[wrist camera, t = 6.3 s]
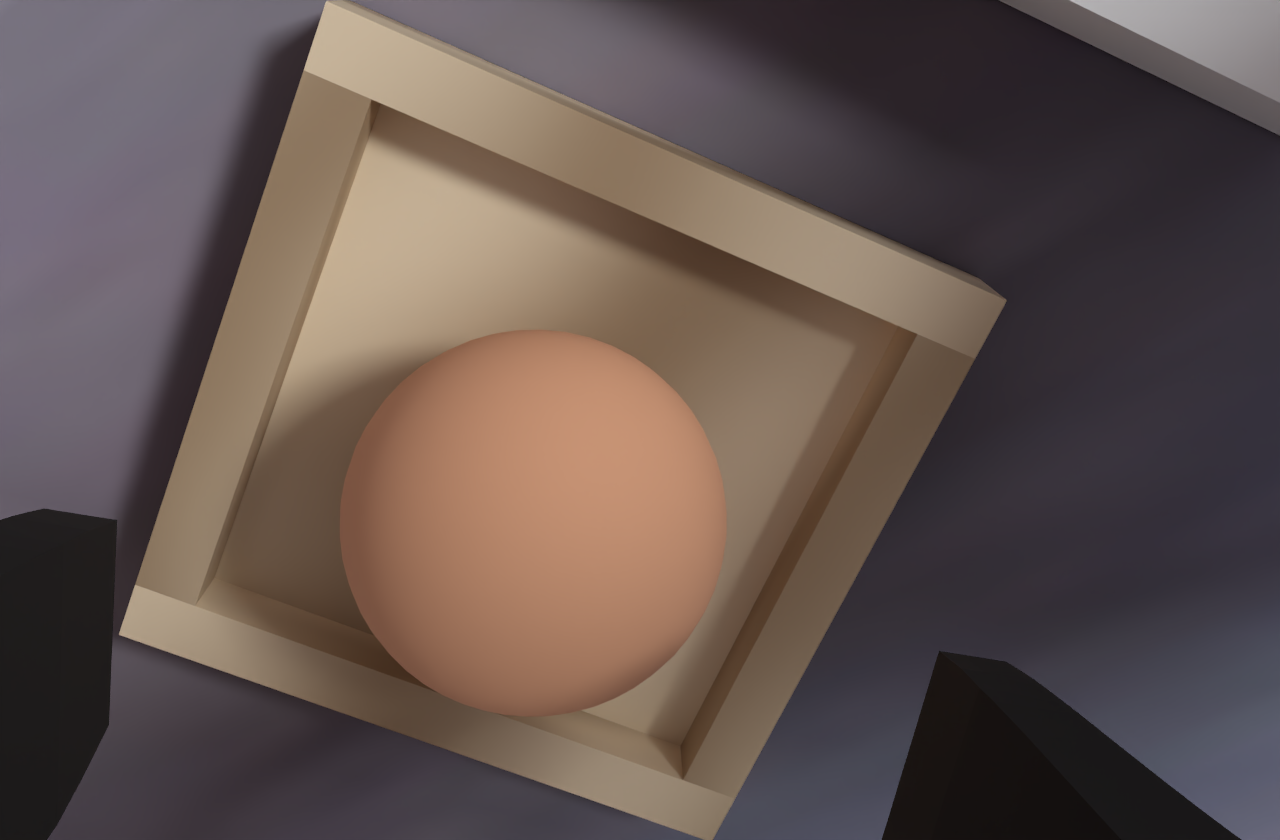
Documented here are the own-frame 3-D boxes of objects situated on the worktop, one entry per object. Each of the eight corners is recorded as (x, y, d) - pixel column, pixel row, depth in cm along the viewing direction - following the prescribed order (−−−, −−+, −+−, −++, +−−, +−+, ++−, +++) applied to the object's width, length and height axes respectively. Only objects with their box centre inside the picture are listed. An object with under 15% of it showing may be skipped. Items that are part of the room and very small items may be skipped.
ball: (739, 318, 15) (792, 443, 11) (674, 618, 17) (702, 824, 13) (394, 262, 15) (320, 369, 11) (359, 574, 16) (281, 773, 12)
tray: (978, 277, 16) (1006, 300, 15) (705, 789, 18) (711, 842, 17) (349, -1, 14) (327, 1, 13) (152, 592, 17) (118, 634, 16)
